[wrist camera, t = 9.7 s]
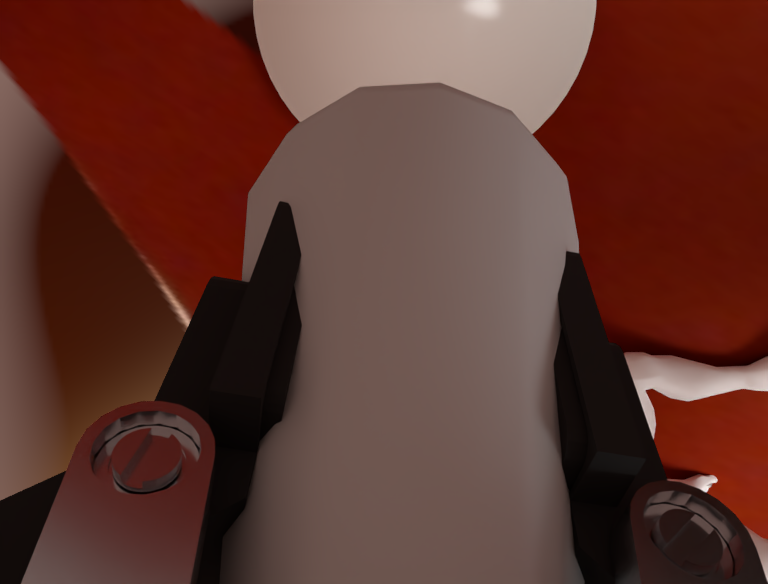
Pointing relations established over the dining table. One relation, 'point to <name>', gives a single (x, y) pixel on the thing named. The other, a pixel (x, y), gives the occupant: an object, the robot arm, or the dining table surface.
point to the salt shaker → (414, 351)
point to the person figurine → (695, 397)
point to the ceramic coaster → (426, 49)
